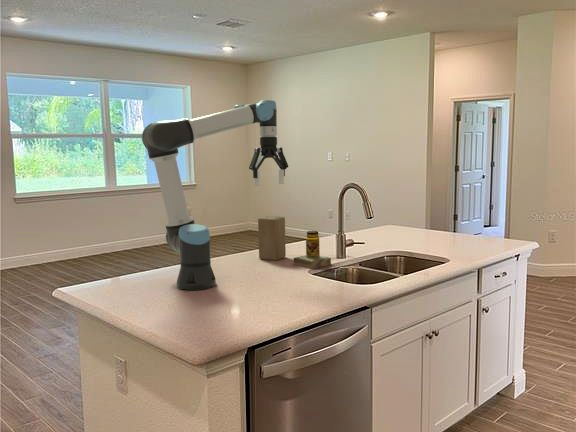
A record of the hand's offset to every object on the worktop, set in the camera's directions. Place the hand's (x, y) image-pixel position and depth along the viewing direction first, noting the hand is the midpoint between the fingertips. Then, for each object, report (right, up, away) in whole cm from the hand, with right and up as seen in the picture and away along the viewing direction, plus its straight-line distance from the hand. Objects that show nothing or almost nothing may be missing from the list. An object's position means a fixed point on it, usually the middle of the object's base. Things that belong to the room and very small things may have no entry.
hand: (269, 184), depth 228 cm
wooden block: (+1, -35, +20) cm, 40 cm away
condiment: (+19, -33, +6) cm, 38 cm away
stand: (+19, -36, +6) cm, 41 cm away
